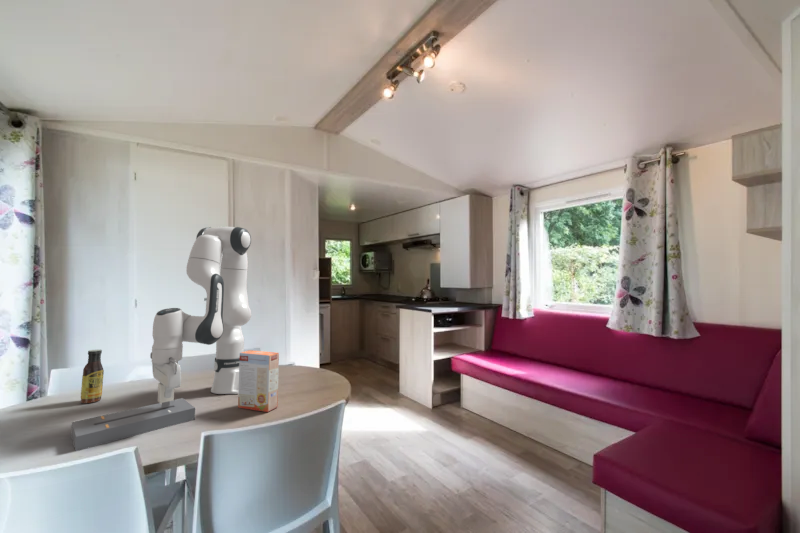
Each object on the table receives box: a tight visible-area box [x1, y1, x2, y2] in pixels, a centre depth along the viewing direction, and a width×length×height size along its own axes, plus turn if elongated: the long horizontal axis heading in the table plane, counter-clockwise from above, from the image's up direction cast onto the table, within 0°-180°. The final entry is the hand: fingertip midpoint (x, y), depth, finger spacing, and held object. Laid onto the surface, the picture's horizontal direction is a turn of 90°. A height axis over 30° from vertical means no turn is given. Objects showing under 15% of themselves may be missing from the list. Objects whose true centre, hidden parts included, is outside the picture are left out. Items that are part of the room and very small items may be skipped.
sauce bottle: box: [80, 349, 105, 404], centre depth 134 cm, size 6×6×20 cm
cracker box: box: [237, 350, 280, 413], centre depth 130 cm, size 14×6×21 cm, turn 71°
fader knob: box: [157, 382, 175, 408], centre depth 118 cm, size 4×3×8 cm
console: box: [70, 397, 196, 452], centre depth 112 cm, size 30×14×4 cm, turn 138°
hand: (165, 395), depth 118 cm, fingers closed on fader knob, 3 cm apart
